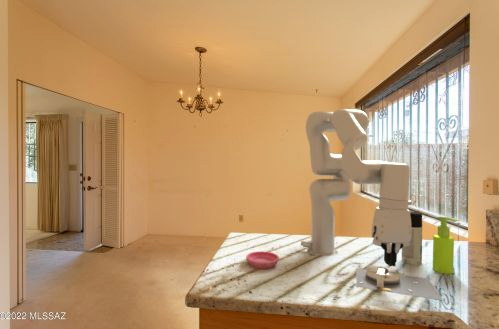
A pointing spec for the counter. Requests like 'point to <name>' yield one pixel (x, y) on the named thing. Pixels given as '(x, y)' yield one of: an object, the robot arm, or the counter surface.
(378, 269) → the dial
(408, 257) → the spray can
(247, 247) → the counter surface
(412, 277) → the board
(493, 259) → the counter surface
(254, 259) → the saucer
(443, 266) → the soap dispenser
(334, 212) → the robot arm
